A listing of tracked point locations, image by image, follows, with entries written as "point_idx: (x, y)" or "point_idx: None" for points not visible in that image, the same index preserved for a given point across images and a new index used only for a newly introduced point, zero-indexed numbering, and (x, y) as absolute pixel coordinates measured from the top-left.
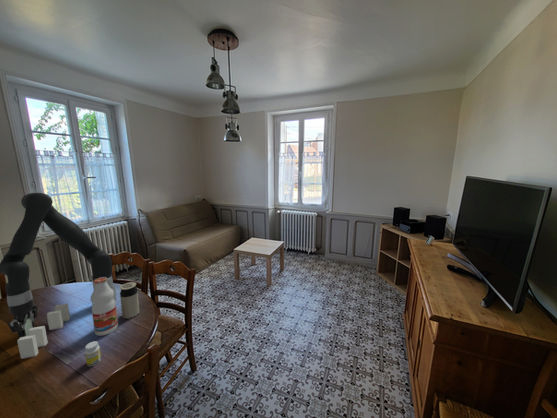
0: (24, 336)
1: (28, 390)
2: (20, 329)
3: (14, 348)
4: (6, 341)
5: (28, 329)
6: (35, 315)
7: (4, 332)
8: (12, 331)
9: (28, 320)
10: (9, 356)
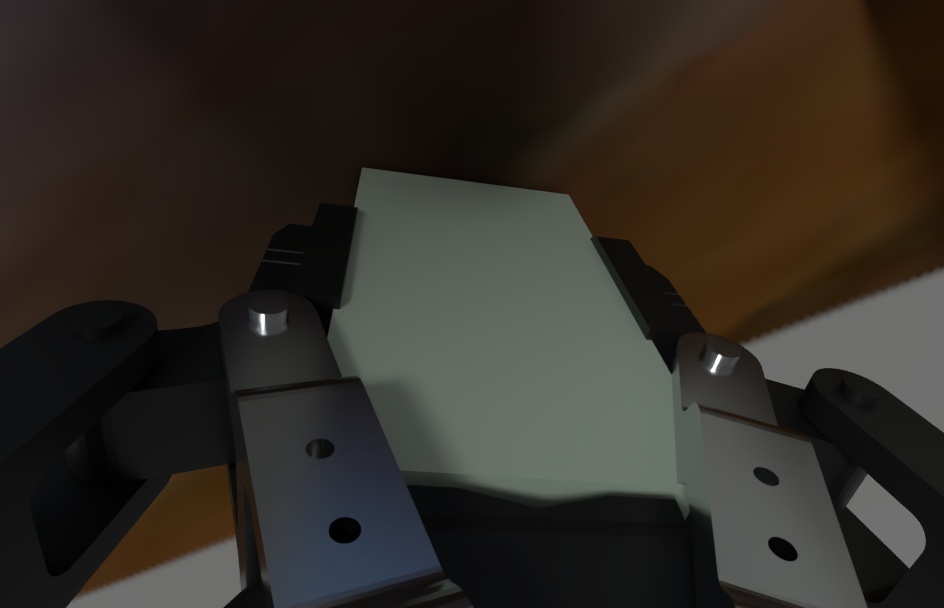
0: (622, 244)
1: None
2: (874, 398)
3: (715, 268)
4: None
5: (500, 264)
6: (86, 365)
7: (170, 562)
8: (845, 521)
9: (462, 424)
10: (913, 239)
